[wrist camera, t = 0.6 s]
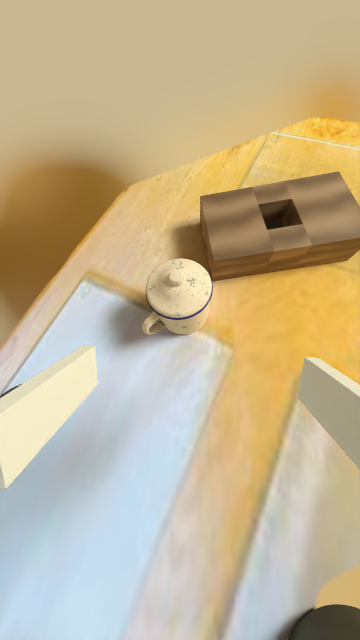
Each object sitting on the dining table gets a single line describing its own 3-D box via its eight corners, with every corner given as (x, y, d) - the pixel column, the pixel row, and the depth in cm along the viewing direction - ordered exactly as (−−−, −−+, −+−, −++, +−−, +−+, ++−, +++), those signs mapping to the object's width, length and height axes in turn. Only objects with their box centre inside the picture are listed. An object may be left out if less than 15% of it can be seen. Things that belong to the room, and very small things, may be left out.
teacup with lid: (184, 279, 36) (177, 232, 25) (220, 310, 33) (230, 273, 23) (135, 323, 34) (105, 292, 23) (170, 360, 32) (154, 344, 21)
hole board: (347, 260, 34) (376, 235, 29) (211, 281, 36) (213, 260, 30) (318, 202, 39) (338, 171, 33) (200, 223, 40) (200, 196, 35)
